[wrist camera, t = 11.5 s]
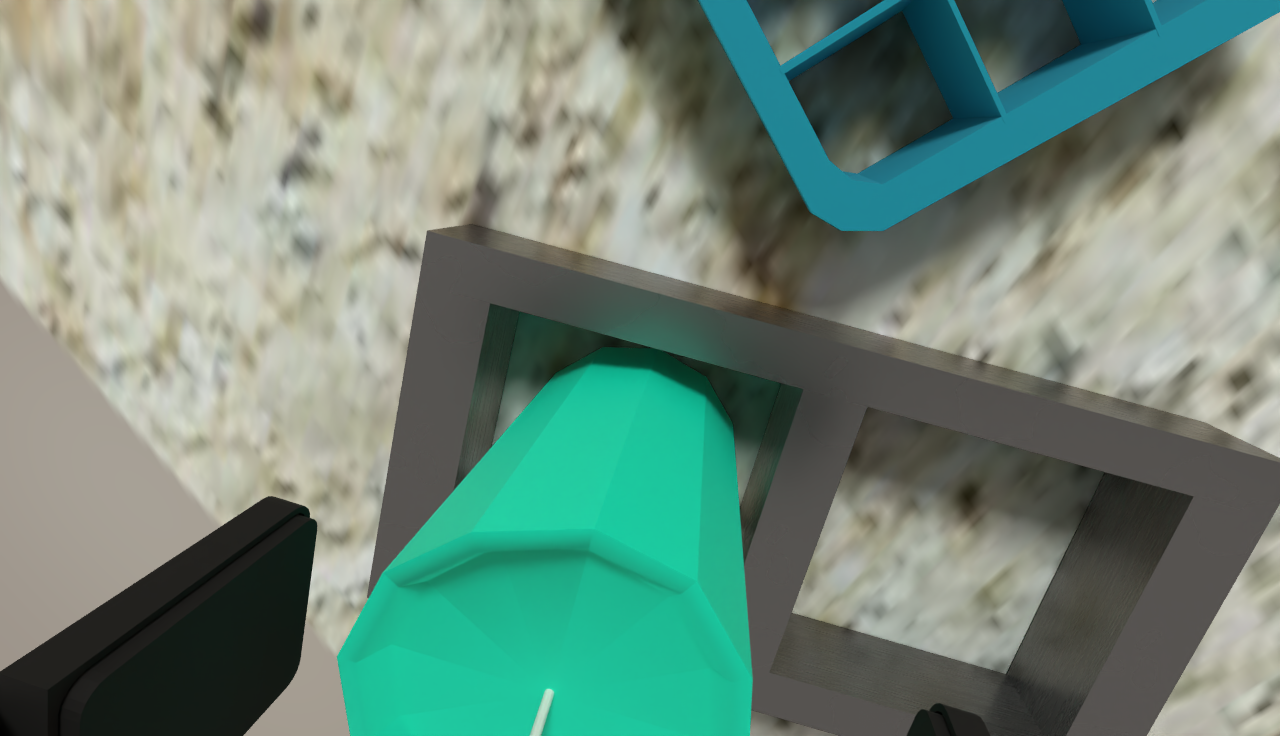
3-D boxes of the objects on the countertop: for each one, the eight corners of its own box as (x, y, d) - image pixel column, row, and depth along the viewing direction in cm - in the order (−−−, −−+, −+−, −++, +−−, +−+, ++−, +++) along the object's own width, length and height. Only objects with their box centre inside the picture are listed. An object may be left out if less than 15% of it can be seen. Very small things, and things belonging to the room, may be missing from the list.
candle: (502, 370, 19) (192, 636, 8) (707, 321, 18) (696, 543, 7) (561, 555, 21) (369, 1015, 9) (756, 519, 20) (814, 983, 8)
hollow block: (1204, 422, 18) (1300, 467, 15) (1047, 724, 20) (1102, 812, 18) (472, 224, 18) (427, 230, 16) (414, 541, 21) (367, 597, 18)
